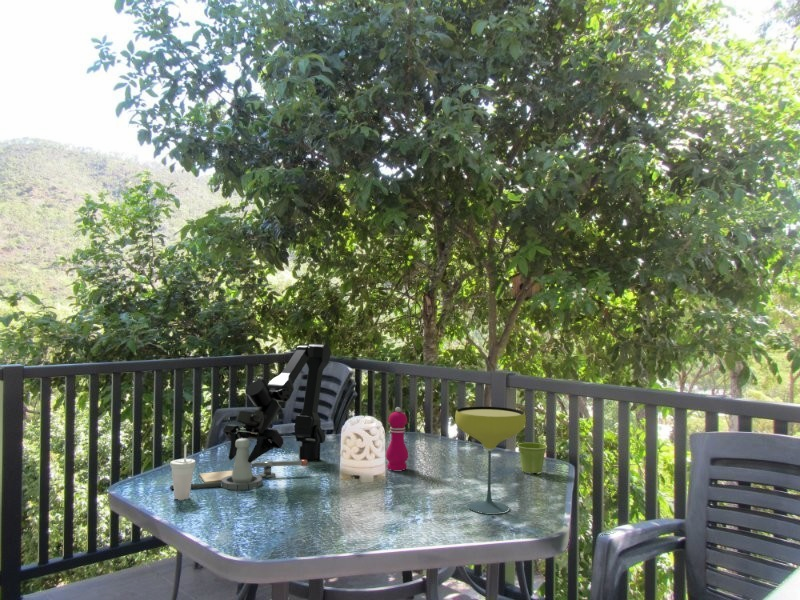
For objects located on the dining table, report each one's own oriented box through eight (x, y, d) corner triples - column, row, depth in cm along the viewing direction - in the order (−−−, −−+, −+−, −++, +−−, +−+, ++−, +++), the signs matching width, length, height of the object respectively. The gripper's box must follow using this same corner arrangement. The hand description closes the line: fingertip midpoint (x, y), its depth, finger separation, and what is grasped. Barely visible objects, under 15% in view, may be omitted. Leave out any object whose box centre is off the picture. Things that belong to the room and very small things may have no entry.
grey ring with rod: (259, 478, 187) (260, 473, 187) (263, 488, 176) (263, 482, 176) (171, 483, 179) (171, 478, 179) (169, 494, 169) (169, 488, 169)
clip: (306, 463, 194) (306, 458, 194) (307, 466, 191) (307, 461, 191) (251, 465, 191) (251, 460, 191) (251, 468, 187) (251, 463, 187)
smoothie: (189, 501, 162) (191, 447, 163) (165, 501, 162) (166, 447, 163) (198, 494, 169) (199, 442, 169) (174, 494, 169) (176, 442, 169)
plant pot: (539, 477, 194) (539, 449, 194) (511, 472, 199) (512, 445, 200) (551, 472, 201) (552, 445, 201) (524, 467, 207) (525, 441, 207)
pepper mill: (409, 467, 205) (410, 405, 205) (407, 472, 197) (408, 408, 198) (387, 466, 205) (388, 405, 206) (384, 471, 198) (385, 408, 199)
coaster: (232, 472, 193) (232, 470, 193) (240, 480, 185) (240, 478, 185) (199, 475, 189) (199, 473, 189) (205, 483, 180) (205, 481, 180)
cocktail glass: (539, 513, 158) (540, 414, 159) (482, 523, 149) (483, 418, 150) (494, 494, 174) (495, 404, 175) (440, 503, 165) (442, 408, 166)
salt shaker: (246, 487, 176) (247, 441, 177) (227, 486, 178) (229, 440, 178) (255, 482, 182) (256, 437, 183) (237, 481, 183) (238, 436, 184)
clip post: (274, 473, 193) (274, 464, 193) (276, 477, 188) (276, 468, 188) (258, 474, 192) (258, 465, 192) (259, 478, 187) (260, 469, 187)
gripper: (227, 397, 188) (200, 440, 178) (278, 402, 180) (252, 447, 170) (244, 420, 195) (218, 462, 185) (293, 425, 187) (270, 470, 177)
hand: (239, 460), depth 179 cm, fingers open, 7 cm apart
